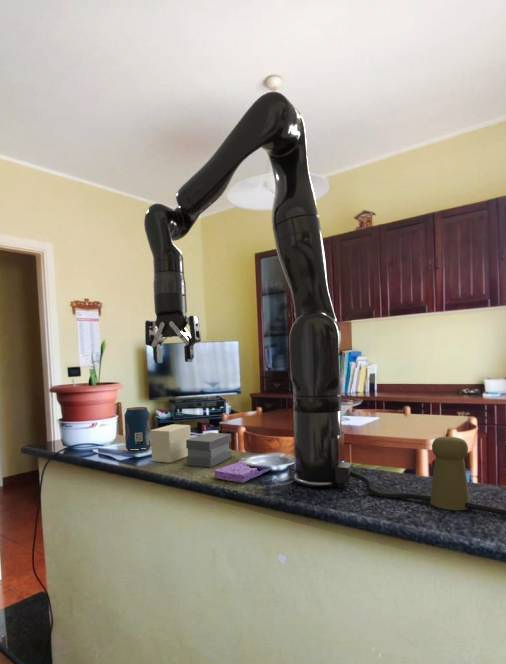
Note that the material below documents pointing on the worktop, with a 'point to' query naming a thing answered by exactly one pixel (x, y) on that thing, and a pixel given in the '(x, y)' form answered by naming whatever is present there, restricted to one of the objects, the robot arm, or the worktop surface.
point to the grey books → (208, 449)
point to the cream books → (169, 450)
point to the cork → (449, 474)
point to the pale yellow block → (170, 432)
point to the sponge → (238, 472)
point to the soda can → (137, 429)
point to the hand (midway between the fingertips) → (173, 362)
